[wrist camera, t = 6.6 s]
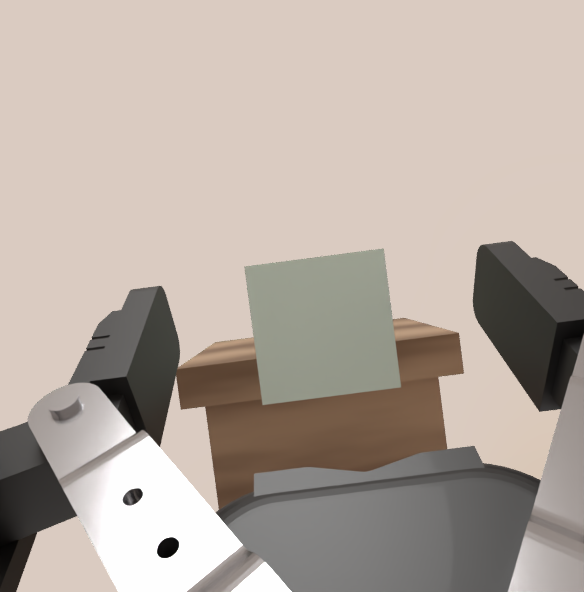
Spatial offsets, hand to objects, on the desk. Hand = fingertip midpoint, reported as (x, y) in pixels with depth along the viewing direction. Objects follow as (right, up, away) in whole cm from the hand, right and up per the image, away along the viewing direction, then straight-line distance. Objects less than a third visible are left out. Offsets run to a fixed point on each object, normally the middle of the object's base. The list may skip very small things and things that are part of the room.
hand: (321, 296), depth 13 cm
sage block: (+1, -3, +14) cm, 15 cm away
